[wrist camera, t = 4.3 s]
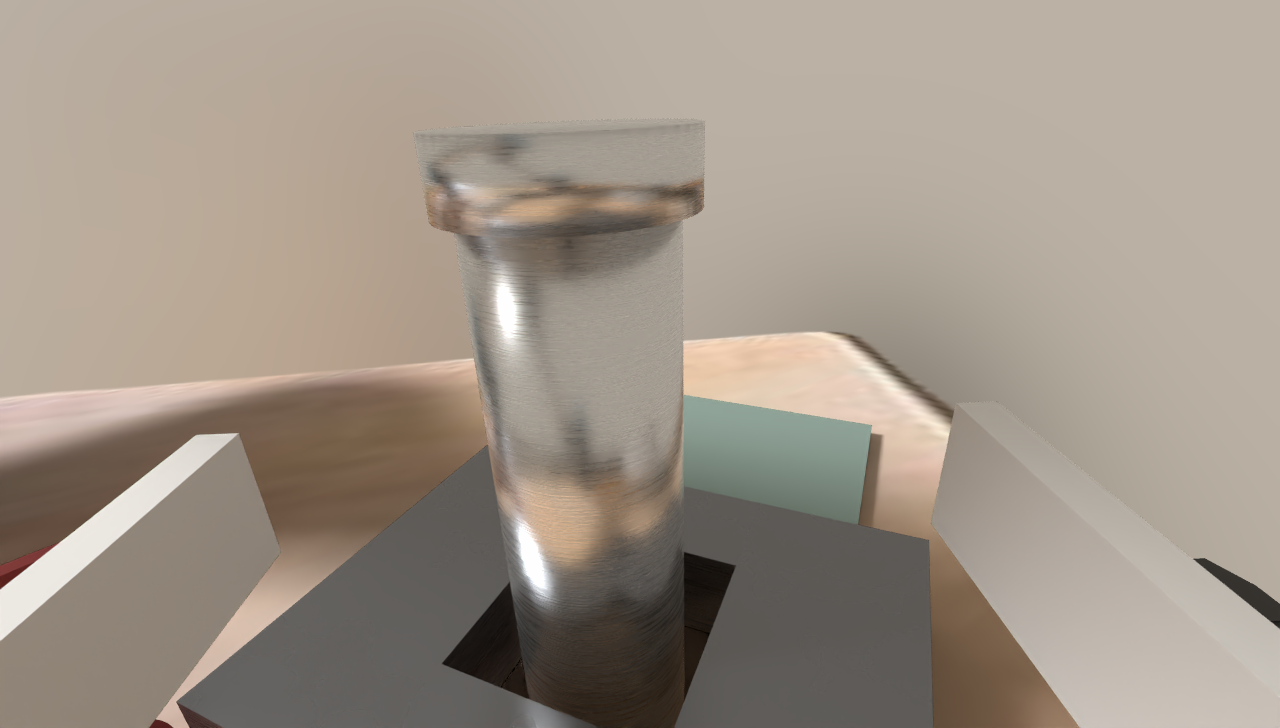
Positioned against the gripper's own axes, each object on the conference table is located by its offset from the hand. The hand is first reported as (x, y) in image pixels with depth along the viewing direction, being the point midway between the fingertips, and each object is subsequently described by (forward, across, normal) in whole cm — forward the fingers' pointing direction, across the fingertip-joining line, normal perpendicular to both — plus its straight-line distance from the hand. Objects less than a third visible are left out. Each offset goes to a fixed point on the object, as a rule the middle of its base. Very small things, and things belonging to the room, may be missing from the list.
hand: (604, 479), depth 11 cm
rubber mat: (+13, +4, -9) cm, 17 cm away
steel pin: (+2, 0, -9) cm, 9 cm away
